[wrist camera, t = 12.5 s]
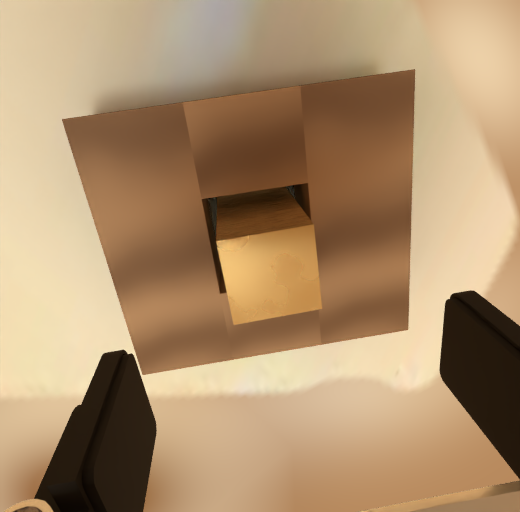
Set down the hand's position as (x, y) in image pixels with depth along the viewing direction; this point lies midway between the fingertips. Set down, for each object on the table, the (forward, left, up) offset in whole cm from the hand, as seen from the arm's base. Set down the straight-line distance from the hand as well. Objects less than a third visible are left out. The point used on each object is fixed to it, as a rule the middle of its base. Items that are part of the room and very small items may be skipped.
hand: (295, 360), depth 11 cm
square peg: (0, 0, -17) cm, 17 cm away
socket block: (+1, 0, -17) cm, 17 cm away
